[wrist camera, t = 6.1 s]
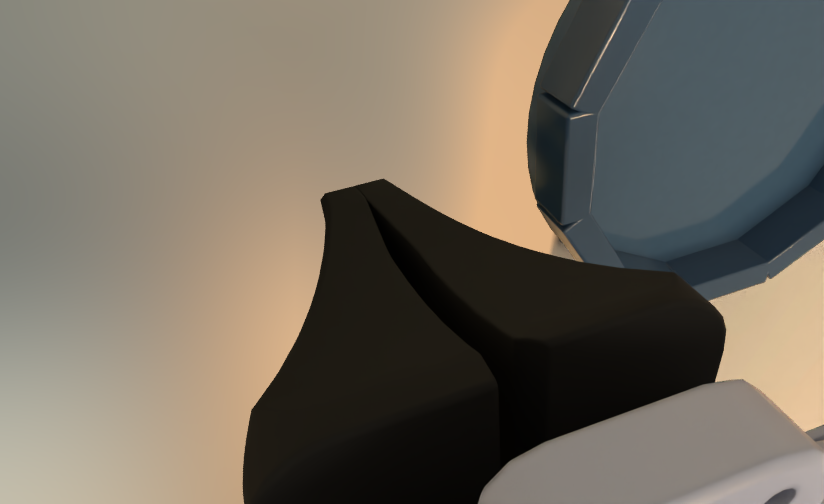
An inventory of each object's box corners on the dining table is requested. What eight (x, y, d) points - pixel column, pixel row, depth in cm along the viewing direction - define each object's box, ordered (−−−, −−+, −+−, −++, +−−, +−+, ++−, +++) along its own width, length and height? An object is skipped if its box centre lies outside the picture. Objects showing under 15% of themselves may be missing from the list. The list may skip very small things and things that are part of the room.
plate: (513, 297, 19) (554, 352, 17) (513, -124, 12) (579, -114, 10) (811, 206, 21) (877, 245, 19) (943, -192, 15) (1065, -194, 13)
